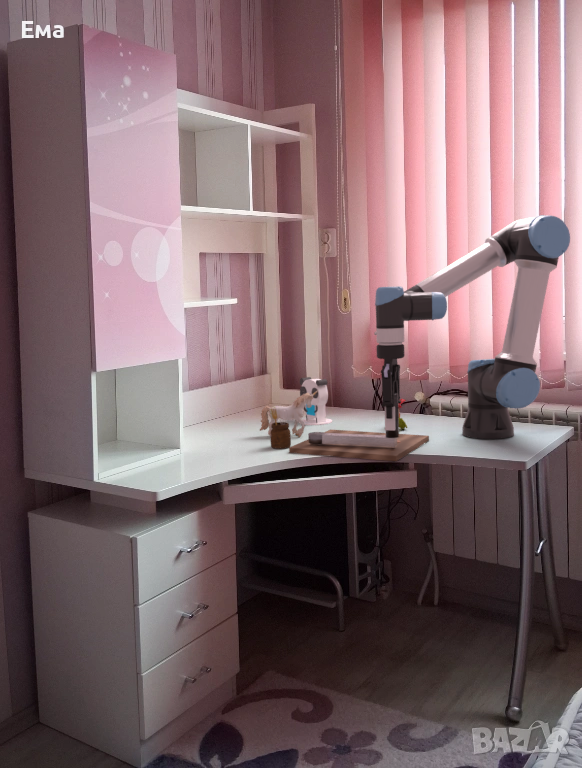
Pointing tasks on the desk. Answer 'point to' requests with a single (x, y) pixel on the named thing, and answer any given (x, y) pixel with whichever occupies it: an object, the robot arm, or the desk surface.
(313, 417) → the panda figurine
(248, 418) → the desk surface
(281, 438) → the utensil holder
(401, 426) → the bird rattle
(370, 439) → the lever
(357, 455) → the walnut board
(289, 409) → the unicorn figurine
